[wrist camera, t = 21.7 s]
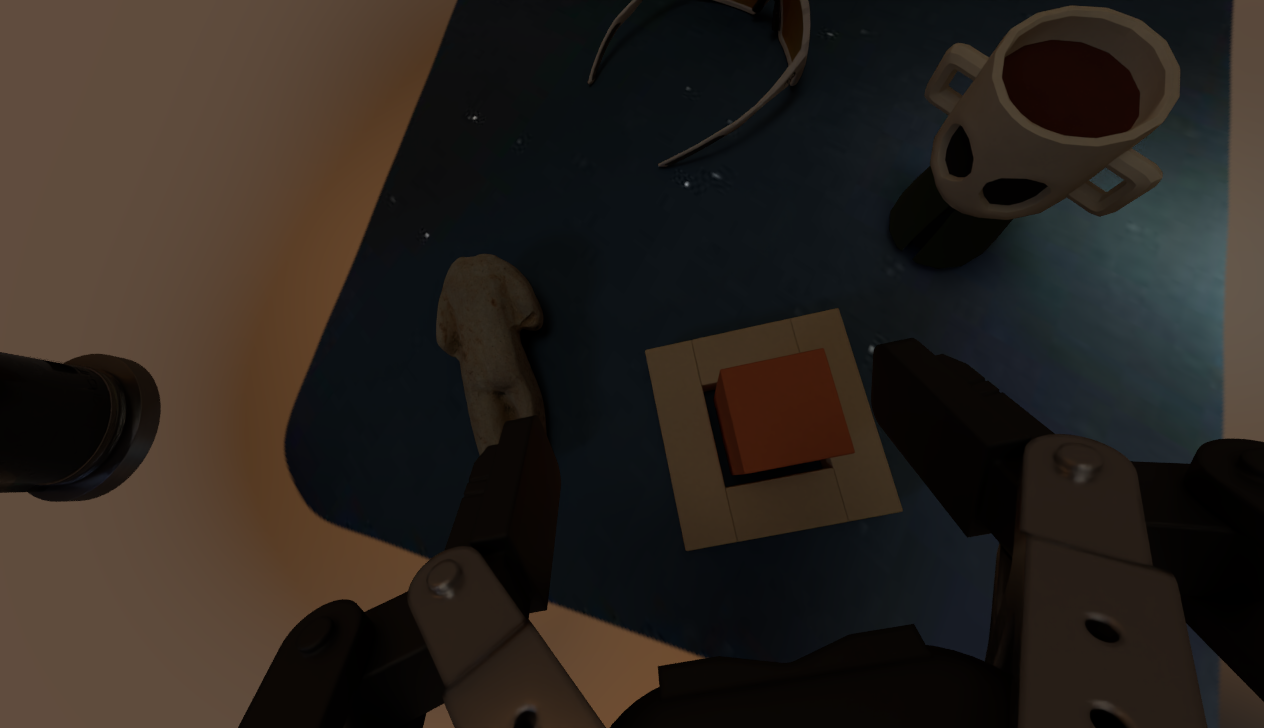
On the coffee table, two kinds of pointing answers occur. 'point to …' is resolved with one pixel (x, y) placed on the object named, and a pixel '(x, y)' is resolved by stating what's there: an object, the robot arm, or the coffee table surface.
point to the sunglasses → (787, 19)
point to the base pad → (776, 502)
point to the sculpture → (491, 342)
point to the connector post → (780, 413)
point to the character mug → (1037, 129)
